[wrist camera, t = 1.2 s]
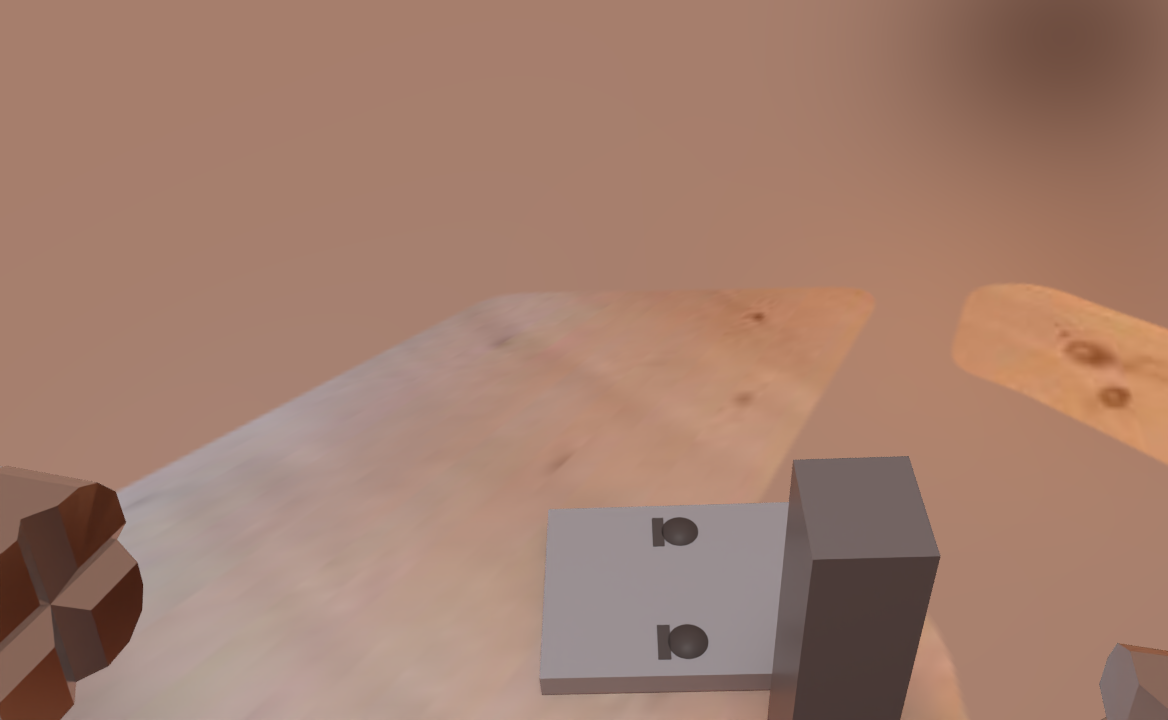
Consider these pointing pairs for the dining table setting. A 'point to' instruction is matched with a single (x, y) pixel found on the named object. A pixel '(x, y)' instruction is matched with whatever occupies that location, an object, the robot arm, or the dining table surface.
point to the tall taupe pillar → (851, 590)
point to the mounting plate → (662, 598)
